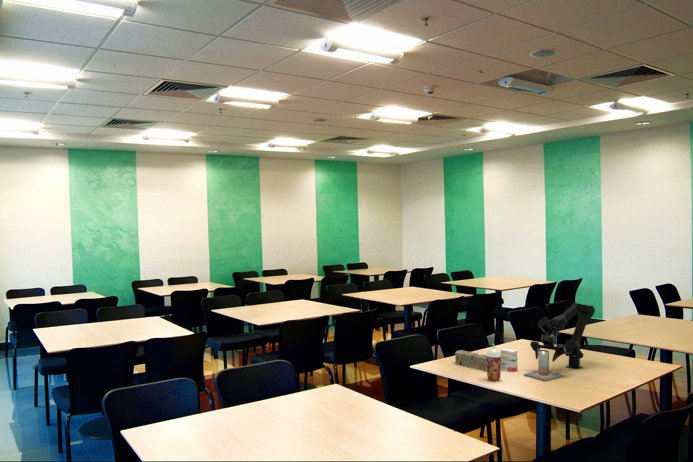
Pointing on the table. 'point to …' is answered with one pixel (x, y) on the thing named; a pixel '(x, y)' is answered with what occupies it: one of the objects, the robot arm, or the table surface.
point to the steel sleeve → (543, 362)
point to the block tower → (471, 360)
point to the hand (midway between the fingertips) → (544, 360)
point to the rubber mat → (543, 378)
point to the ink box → (509, 360)
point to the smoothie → (493, 364)
